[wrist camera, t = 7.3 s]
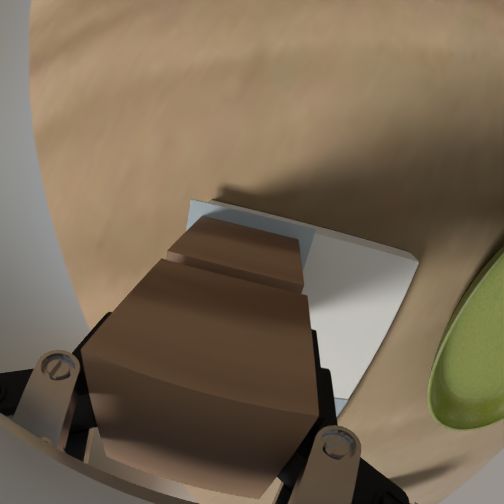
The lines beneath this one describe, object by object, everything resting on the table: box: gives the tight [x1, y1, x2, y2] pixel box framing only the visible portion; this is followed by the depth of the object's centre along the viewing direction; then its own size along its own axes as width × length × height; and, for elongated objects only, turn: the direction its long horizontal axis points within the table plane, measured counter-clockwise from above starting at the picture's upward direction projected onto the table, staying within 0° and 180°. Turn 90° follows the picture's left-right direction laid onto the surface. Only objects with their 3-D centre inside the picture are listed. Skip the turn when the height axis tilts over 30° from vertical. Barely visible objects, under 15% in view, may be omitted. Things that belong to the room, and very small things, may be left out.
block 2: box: [81, 259, 319, 499], centre depth 9 cm, size 5×5×5 cm
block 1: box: [166, 216, 304, 294], centre depth 14 cm, size 5×5×5 cm
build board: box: [186, 199, 419, 416], centre depth 19 cm, size 18×13×2 cm
